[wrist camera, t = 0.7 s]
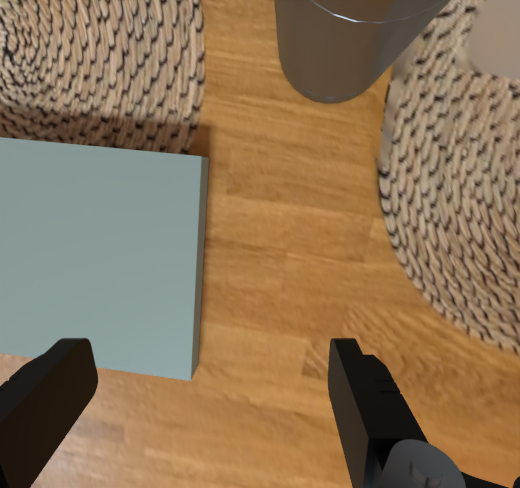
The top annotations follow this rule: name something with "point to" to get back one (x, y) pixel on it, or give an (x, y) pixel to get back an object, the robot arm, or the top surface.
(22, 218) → the board
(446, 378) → the top surface
